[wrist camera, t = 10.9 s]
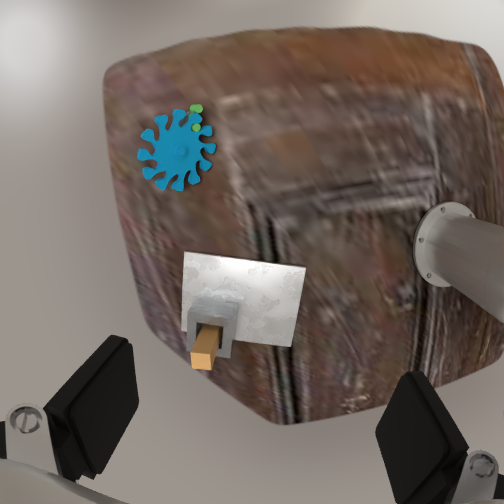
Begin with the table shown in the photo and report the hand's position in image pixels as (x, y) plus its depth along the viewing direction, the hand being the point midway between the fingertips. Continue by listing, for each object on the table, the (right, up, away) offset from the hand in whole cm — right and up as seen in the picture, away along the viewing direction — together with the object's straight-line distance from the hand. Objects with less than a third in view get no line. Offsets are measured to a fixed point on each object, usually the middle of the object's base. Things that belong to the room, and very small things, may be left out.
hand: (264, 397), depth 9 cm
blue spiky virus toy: (-9, +18, +28) cm, 34 cm away
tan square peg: (-5, -5, +32) cm, 33 cm away
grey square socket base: (-2, -2, +32) cm, 32 cm away
